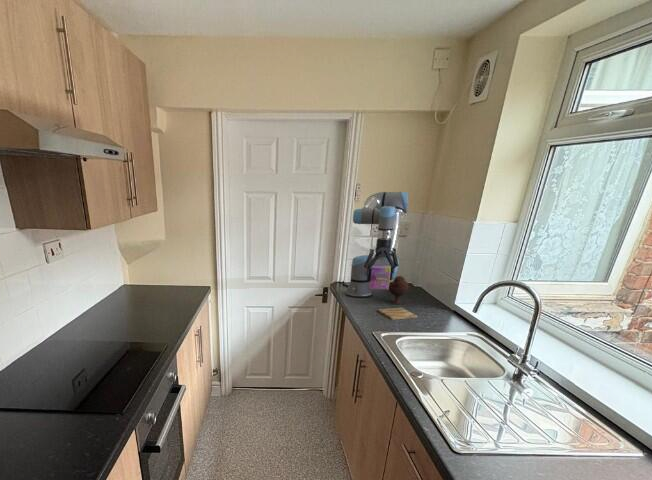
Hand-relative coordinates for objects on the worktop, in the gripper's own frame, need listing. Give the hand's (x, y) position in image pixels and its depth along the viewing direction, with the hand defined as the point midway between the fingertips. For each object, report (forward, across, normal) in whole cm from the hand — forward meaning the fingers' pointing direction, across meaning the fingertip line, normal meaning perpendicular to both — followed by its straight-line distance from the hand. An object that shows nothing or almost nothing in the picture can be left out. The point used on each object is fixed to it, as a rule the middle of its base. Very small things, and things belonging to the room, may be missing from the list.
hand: (379, 280), depth 226 cm
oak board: (+15, +4, -16) cm, 22 cm away
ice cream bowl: (+15, +15, +5) cm, 22 cm away
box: (+5, 0, 0) cm, 5 cm away
